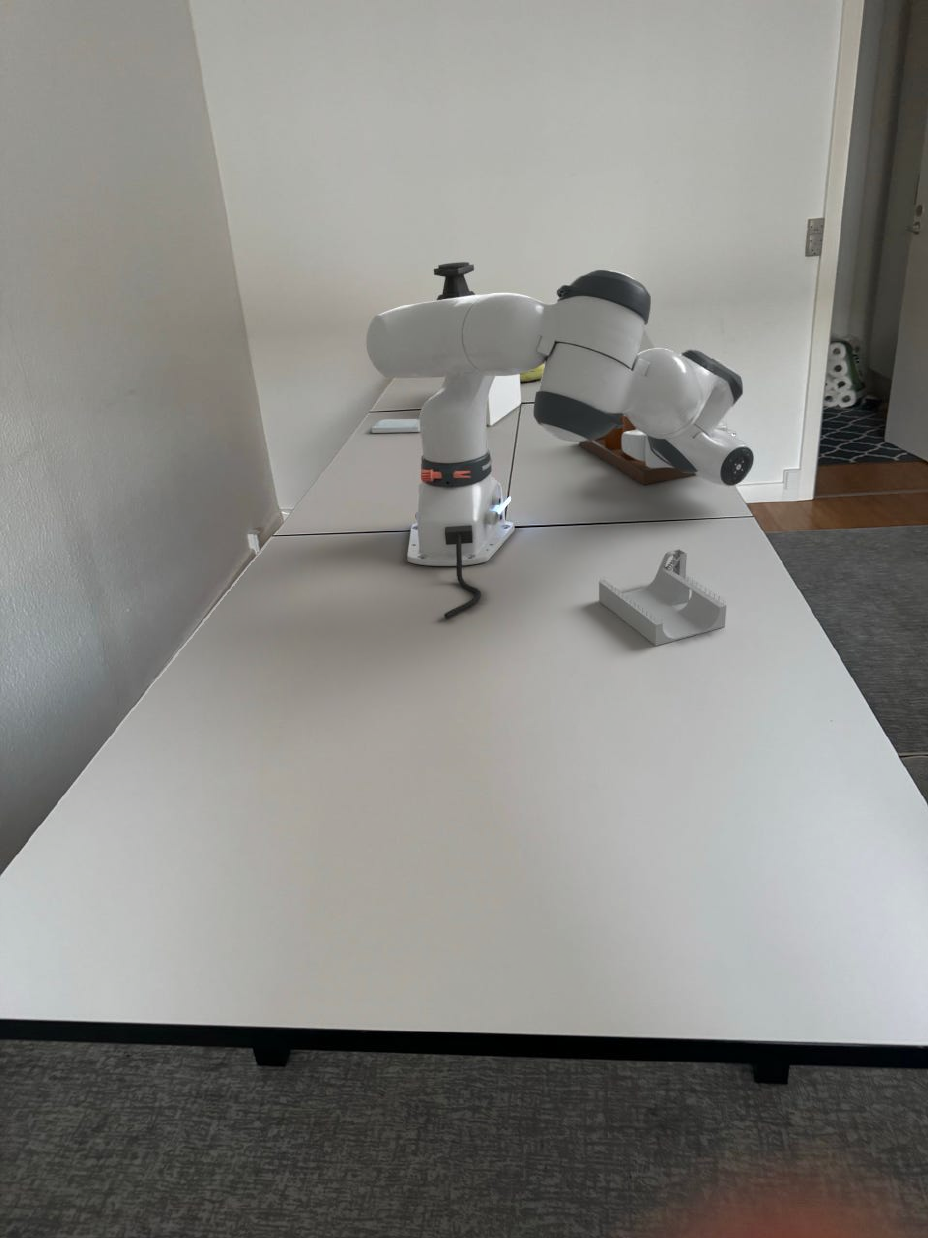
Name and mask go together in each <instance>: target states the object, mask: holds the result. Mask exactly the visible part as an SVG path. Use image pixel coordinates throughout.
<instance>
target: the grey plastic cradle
mask: <svg viewBox="0 0 928 1238" xmlns="http://www.w3.org/2000/svg"><path fill="white" fill-rule="evenodd" d="M687 555H688V554H687V553H686V552H685V551H684V550H682V549H674V550H670V551H667V552H666V553H665V554H664V556H663V558H662V560H661V563H660V565H659V568H658V570H657V572H656V575H655V577H654V579H653V580H652V582H650V583H649V584H648V585H647V586H644V587H641V588H638V589H633V590H629V591H626V592H622V591H621V590H619V589H618V588H617V587H615V586H614V585H612V584H611V583H610V582H608V581H607V580H606V579H605V577H602V578H601V580H599V581H598V601H599V602H600V603H601V604H602V605H604V606H605V607H606V608H608V609H609V610H610V611H611V612H612V613H614V614H615V615H616V616H617V617H618V618H620V619H621V620H622V621H624V622H625V623H626V624H627V625H628V626H630V628H632V629H633V630H635V631H636V632H637V633H639V634H640V635H641V636H643V637H644V638H645V639H646V640H647V641H649V642H650V643H651V645H653V646H655V647H657V646H661V645H665V644H668V643H673V642H676V641H679V640H682V639H687V638H691V637H693V636H698V635H701V634H705V633H708V632H711V631H712V632H713V631H715V630H718V629H722V628H725V627H726V617H727V604H725V599H724V598H723V597H721V596H719V595H718V594H716V593H714V592H713V591H711V590H710V589H708V588H707V587H705V586H704V585H701V583H699V582H698V581H695V580H694V579H692V578H691V579H690V577H689V576H688V575H687V558H688V557H687ZM671 557H672V558H671ZM670 558H671V560H670V561H669V559H670ZM668 561H669V563H668ZM689 580H690V581H689ZM698 584H699V586H700V587H699V586H697V585H698ZM690 590H691V591H690ZM690 592H691V595H690ZM712 593H713V594H712ZM721 601H722V602H721Z"/></svg>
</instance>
